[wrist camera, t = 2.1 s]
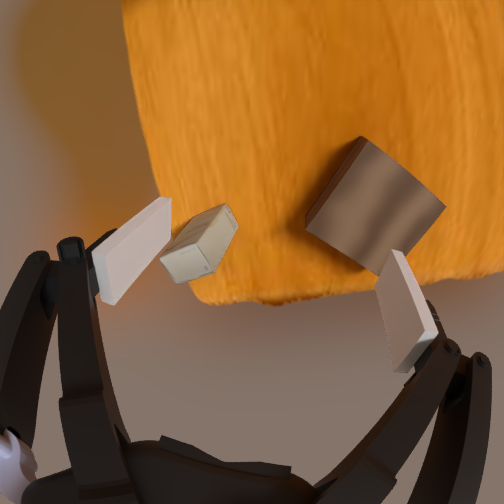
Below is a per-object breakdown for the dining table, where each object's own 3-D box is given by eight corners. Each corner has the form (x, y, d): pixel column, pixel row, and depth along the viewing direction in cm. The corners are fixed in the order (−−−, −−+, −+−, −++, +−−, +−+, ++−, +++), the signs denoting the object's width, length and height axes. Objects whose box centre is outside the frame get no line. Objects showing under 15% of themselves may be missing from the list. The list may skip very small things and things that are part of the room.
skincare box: (226, 201, 41) (197, 240, 31) (240, 227, 43) (217, 272, 32) (192, 216, 43) (157, 257, 33) (206, 240, 45) (176, 285, 35)
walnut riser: (305, 214, 40) (305, 229, 36) (360, 135, 33) (368, 140, 29) (377, 261, 42) (383, 279, 37) (432, 194, 34) (446, 206, 30)
